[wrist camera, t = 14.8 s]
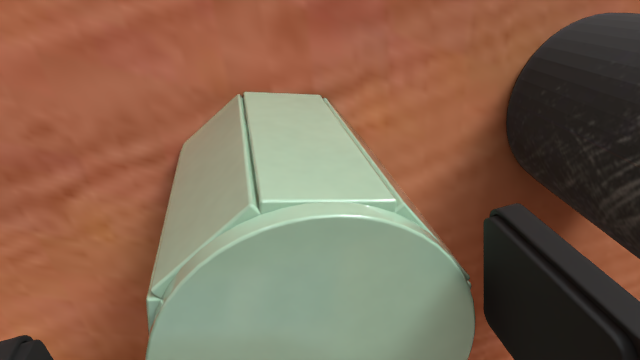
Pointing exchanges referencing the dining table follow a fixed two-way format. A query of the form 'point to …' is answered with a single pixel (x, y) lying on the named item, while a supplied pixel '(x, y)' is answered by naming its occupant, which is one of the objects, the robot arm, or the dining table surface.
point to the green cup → (298, 248)
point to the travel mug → (585, 121)
